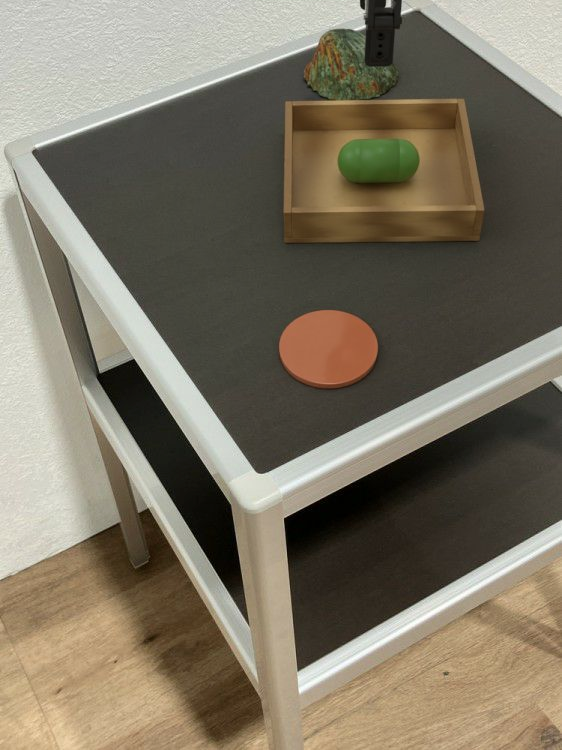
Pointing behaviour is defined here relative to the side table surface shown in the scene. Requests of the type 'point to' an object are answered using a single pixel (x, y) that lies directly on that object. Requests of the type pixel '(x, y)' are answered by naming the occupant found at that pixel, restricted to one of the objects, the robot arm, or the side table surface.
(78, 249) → the side table surface
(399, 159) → the cucumber
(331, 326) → the plate
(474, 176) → the wooden tray
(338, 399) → the side table surface
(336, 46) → the seashell
